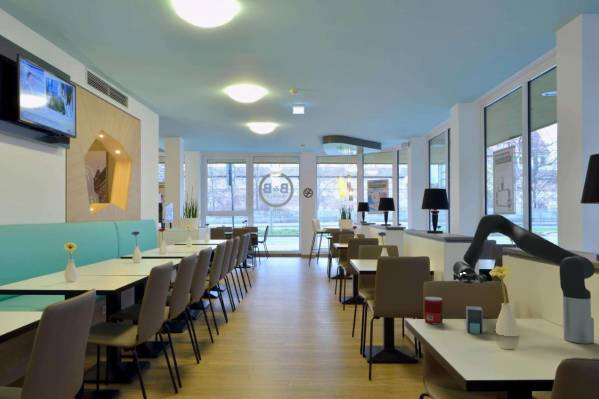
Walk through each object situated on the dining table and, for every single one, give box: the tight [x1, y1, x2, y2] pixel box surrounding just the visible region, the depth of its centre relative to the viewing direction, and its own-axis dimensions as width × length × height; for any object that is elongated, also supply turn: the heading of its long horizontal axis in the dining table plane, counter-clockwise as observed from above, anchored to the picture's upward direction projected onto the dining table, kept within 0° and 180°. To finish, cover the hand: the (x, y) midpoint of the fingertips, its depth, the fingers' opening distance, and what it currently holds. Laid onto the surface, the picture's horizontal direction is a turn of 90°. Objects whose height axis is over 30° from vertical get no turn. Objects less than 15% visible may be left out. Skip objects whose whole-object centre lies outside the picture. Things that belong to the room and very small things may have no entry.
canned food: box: [423, 296, 444, 324], centre depth 191 cm, size 8×8×11 cm
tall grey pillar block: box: [465, 305, 484, 335], centre depth 175 cm, size 6×6×10 cm
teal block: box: [468, 321, 481, 334], centre depth 175 cm, size 4×4×4 cm
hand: (471, 279), depth 186 cm, fingers open, 8 cm apart
